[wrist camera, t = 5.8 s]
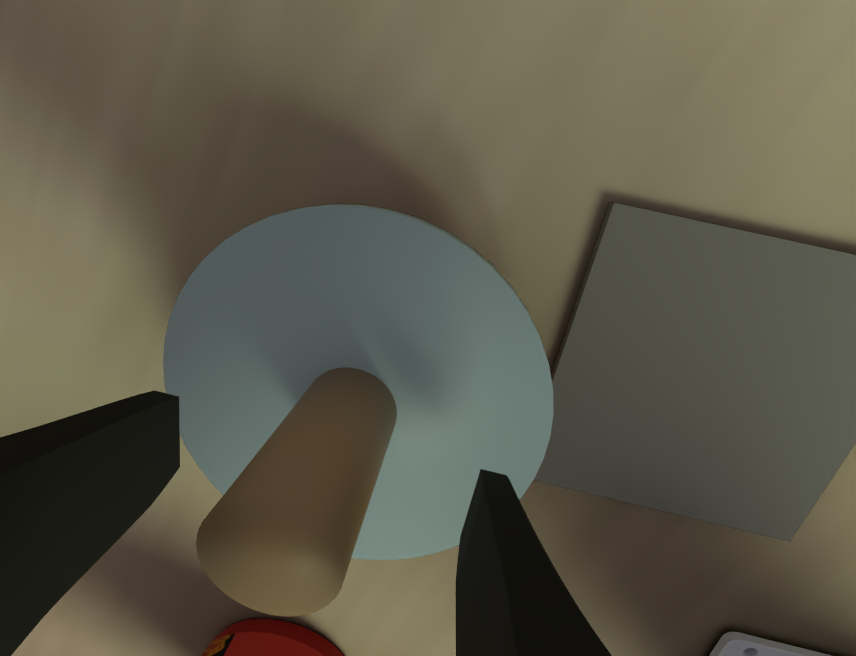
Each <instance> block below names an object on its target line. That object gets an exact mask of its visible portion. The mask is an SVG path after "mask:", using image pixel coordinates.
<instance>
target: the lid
mask: <svg viewBox="0 0 856 656" xmlns="http://www.w3.org/2000/svg"><path fill="white" fill-rule="evenodd" d="M163 366H164V380H165V388H166V393H167V394H171V395H175V396H179V433H180V435H181V437H182V440H183V442H184V444H185V446H186V448H187V449H188V451H189V452H190V454H191V456H192V457H193V459H194V460H195V462H196V463H197V465H198V467H199V468H200V469H201V470H202V472H203V473H204V474H205V475H206V477H207V478H208V479H209V480H210V482H211V483H212V484H213V485H214V486H215V487H216V488H217V489H218V490H219V491H220V492H221V493H222V494H223V497H222V498H221V499H220V500H219V502H218V503H217V504H216V505H215V507H214V508H213V509H212V510H211V512H210V513H209V514H208V516H207V517H206V518H205V519H204V521H203V522H202V524H201V526H200V528H199V531H198V534H197V541H196V544H197V553H198V557H199V560H200V563H201V565H202V567H203V569H204V571H205V572H206V574H207V575H208V577H209V578H210V579H211V581H212V582H213V583H214V584H215V585H216V586H217V587H218V588H219V589H220V590H221V591H222V592H223V593H225V594H226V595H227V596H229V597H230V598H232V599H233V600H235V601H236V602H238V603H240V604H242V605H244V606H246V607H248V608H250V609H253V610H255V611H258V612H262V613H265V614H270V615H276V616H301V615H306V614H310V613H313V612H316V611H318V610H320V609H322V608H324V607H325V606H327V605H328V604H329V603H330V602H332V601H333V600H334V599H335V597H336V596H337V595H338V593H339V591H340V589H341V587H342V584H343V581H344V578H345V575H346V572H347V569H348V566H349V563H350V560H351V558H356V559H365V560H397V559H408V558H415V557H420V556H425V555H429V554H434V553H437V552H440V551H443V550H446V549H449V548H452V547H455V546H457V545H459V544H460V536H461V532H462V529H463V526H464V522H465V519H466V516H467V512H468V509H469V506H470V502H471V499H472V496H473V493H474V489H475V486H476V483H477V479H478V476H479V473H480V469H483V470H487V471H491V472H496V473H500V474H504V475H507V476H508V478H509V479H510V481H511V483H512V486H513V488H514V490H515V492H516V494H517V496H518V499H519V500H520V499H521V497H522V496H523V495H524V493H525V492H526V490H527V489H528V487H529V486H530V484H531V483H532V481H533V480H534V478H535V476H536V474H537V472H538V470H539V468H540V465H541V463H542V461H543V459H544V456H545V453H546V449H547V446H548V443H549V439H550V435H551V428H552V421H553V414H554V412H553V385H552V379H551V374H550V368H549V363H548V360H547V357H546V354H545V351H544V348H543V344H542V341H541V338H540V336H539V333H538V331H537V329H536V327H535V325H534V323H533V321H532V319H531V317H530V315H529V312H528V310H527V308H526V307H525V305H524V304H523V302H522V301H521V299H520V298H519V296H518V295H517V294H516V292H515V291H514V289H513V288H512V286H511V285H510V284H509V283H508V281H507V280H506V279H505V278H504V277H503V276H502V275H501V274H500V273H499V272H498V270H497V269H496V268H495V267H494V266H493V265H492V264H491V263H490V262H489V261H487V260H486V259H485V258H484V257H483V256H481V255H480V254H479V253H478V252H477V251H475V250H474V249H473V248H472V247H471V246H469V245H468V244H466V243H465V242H463V241H462V240H460V239H458V238H457V237H455V236H454V235H452V234H451V233H449V232H447V231H446V230H444V229H442V228H439V227H437V226H435V225H433V224H431V223H429V222H426V221H424V220H422V219H420V218H417V217H414V216H411V215H407V214H404V213H401V212H398V211H395V210H391V209H385V208H379V207H374V206H368V205H355V204H330V205H321V206H312V207H305V208H299V209H295V210H291V211H288V212H284V213H280V214H276V215H272V216H270V217H267V218H265V219H263V220H260V221H258V222H256V223H253V224H251V225H249V226H246V227H245V228H243V229H242V230H240V231H238V232H237V233H235V234H234V235H232V236H230V237H229V238H227V239H226V240H224V241H223V242H222V243H221V244H220V245H218V246H217V247H216V248H215V249H214V250H213V251H212V252H210V253H209V254H208V255H207V256H206V257H205V258H204V259H203V260H202V262H201V263H200V264H199V265H198V267H197V268H196V269H195V270H194V271H193V273H192V274H191V275H190V276H189V278H188V280H187V282H186V283H185V285H184V287H183V288H182V290H181V292H180V294H179V295H178V297H177V300H176V303H175V305H174V308H173V310H172V313H171V315H170V318H169V323H168V327H167V332H166V337H165V344H164V358H163Z"/></svg>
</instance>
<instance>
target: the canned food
mask: <svg viewBox="0 0 856 656" xmlns="http://www.w3.org/2000/svg"><path fill="white" fill-rule="evenodd" d="M201 656H343V654H342V653H341V652H340V651H339V650H338V649H337V648H336V647H335V646H334V645H333V644H332V643H331V642H329V641H328V640H327V639H325V638H324V637H322V636H321V635H319V634H318V633H316V632H314V631H312V630H310V629H308V628H306V627H303V626H300V625H297V624H295V623H291V622H287V621H283V620H278V619H267V618H262V619H249V620H245V621H241V622H237V623H235V624H233V625H231V626H229V627H227V628H226V629H225V630H223V631H222V632H221V633H220V634H219V635H218V636H217V637H216V638H215V639H214V640H213V641H212V642H211V643H210V644H209V645H208V646H207V648H206V649H205V651H204V652H203V654H202V655H201Z"/></svg>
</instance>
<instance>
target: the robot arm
mask: <svg viewBox="0 0 856 656" xmlns="http://www.w3.org/2000/svg"><path fill="white" fill-rule="evenodd" d="M179 467H180V434H179V396H175V395H171V394H166V393H162V392H158V391H151V392H147V393H143V394H139V395H136V396H132V397H129V398H126V399H123V400H119V401H116V402H113V403H110V404H107V405H104V406H100V407H97V408H94V409H91V410H88V411H85V412H82V413H79V414H76V415H72V416H69V417H66V418H63V419H60V420H57V421H54V422H51V423H48V424H44V425H41V426H38V427H35V428H31V429H28V430H24V431H21V432H18V433H14V434H11V435H7V436H4V437H1V438H0V656H11V655H12V654H13V653H14V651H15V650H16V649H17V648H18V647H19V645H20V644H21V643H22V642H23V641H24V639H25V638H26V637H27V636H28V635H29V633H30V632H31V631H32V630H33V629H34V627H35V626H36V625H37V624H38V623H39V621H40V620H41V619H42V618H43V617H44V616H45V615H46V614H47V613H48V612H49V610H50V609H51V608H52V607H53V606H54V605H55V604H56V603H57V602H58V601H59V600H60V598H61V597H62V596H63V595H64V594H65V593H66V592H67V591H68V590H69V589H70V588H71V587H72V586H73V585H74V584H75V583H76V582H77V581H78V580H79V579H80V578H81V577H82V576H83V575H84V574H85V573H86V572H87V571H88V570H89V569H90V568H91V567H92V566H93V565H94V564H95V563H96V562H97V560H98V559H99V558H100V557H101V556H102V555H103V554H104V553H105V552H106V551H107V550H108V549H109V548H110V547H111V546H112V545H113V544H114V543H115V542H116V541H117V540H118V539H119V538H120V537H121V536H122V535H123V534H124V533H125V532H126V531H127V530H128V529H129V528H130V527H131V526H132V525H133V523H134V522H135V521H136V520H137V519H138V518H139V517H140V516H141V515H142V514H143V513H144V512H145V511H146V510H147V509H148V508H149V507H150V506H151V504H152V503H153V502H154V501H155V499H156V498H157V497H158V495H159V494H160V493H161V492H162V490H163V489H164V488H165V486H166V485H167V484H168V482H169V481H170V480H171V478H172V477H173V476H174V474H175V473H176V472H177V470H178V469H179ZM456 656H611V654H610V653H609V651H608V650H607V649H606V647H605V646H604V644H603V643H602V642H601V640H600V639H599V637H598V636H597V634H596V633H595V632H594V630H593V629H592V627H591V626H590V624H589V623H588V621H587V620H586V618H585V617H584V615H583V614H582V612H581V611H580V609H579V607H578V606H577V604H576V603H575V601H574V600H573V598H572V596H571V595H570V593H569V591H568V590H567V588H566V586H565V585H564V583H563V582H562V580H561V578H560V576H559V575H558V573H557V571H556V570H555V568H554V566H553V564H552V563H551V561H550V559H549V557H548V555H547V553H546V552H545V550H544V548H543V546H542V544H541V542H540V541H539V539H538V537H537V535H536V533H535V531H534V529H533V527H532V525H531V523H530V521H529V519H528V517H527V515H526V513H525V511H524V509H523V507H522V505H521V503H520V501H519V499H518V496H517V494H516V492H515V490H514V488H513V486H512V483H511V481H510V479H509V478H508V476H507V475H504V474H500V473H496V472H491V471H487V470H483V469H480V473H479V476H478V479H477V483H476V486H475V489H474V493H473V496H472V499H471V502H470V506H469V509H468V512H467V516H466V519H465V522H464V526H463V529H462V532H461V536H460V544H459V554H458V564H457V574H456ZM709 656H832V655H828V654H824V653H820V652H816V651H812V650H808V649H804V648H800V647H796V646H792V645H788V644H784V643H779V642H775V641H771V640H767V639H763V638H759V637H755V636H751V635H747V634H743V633H739V632H728V633H726V634H724V635H723V636H722V637H721V638H720V640H719V641H718V643H717V644H716V646H715V647H714V649H713V650H712V652H711V653H710V655H709Z"/></svg>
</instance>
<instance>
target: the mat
mask: <svg viewBox="0 0 856 656" xmlns="http://www.w3.org/2000/svg"><path fill="white" fill-rule="evenodd" d="M551 379H552V385H553V412H554V414H553V421H552V428H551V435H550V439H549V443H548V446H547V449H546V453H545V456H544V459H543V461H542V463H541V465H540V468H539V470H538V472H537V474H536V476H535V478H534V480H535V481H539V482H543V483H547V484H551V485H555V486H560V487H564V488H568V489H572V490H576V491H580V492H585V493H589V494H593V495H597V496H601V497H606V498H610V499H614V500H618V501H622V502H626V503H631V504H635V505H639V506H643V507H647V508H651V509H656V510H660V511H664V512H668V513H672V514H676V515H681V516H685V517H689V518H693V519H697V520H701V521H706V522H710V523H714V524H718V525H722V526H726V527H731V528H735V529H739V530H743V531H747V532H751V533H756V534H760V535H764V536H768V537H772V538H776V539H781V540H785V541H789V542H790V540H791V539H792V537H793V536H794V534H795V533H796V531H797V530H798V528H799V527H800V525H801V524H802V522H803V521H804V520H805V518H806V517H807V515H808V514H809V512H810V511H811V509H812V508H813V506H814V505H815V503H816V502H817V500H818V499H819V497H820V496H821V494H822V493H823V491H824V490H825V488H826V487H827V485H828V484H829V482H830V481H831V479H832V478H833V476H834V475H835V473H836V472H837V470H838V469H839V467H840V466H841V464H842V463H843V461H844V460H845V458H846V457H847V455H848V454H849V452H850V451H851V449H852V448H853V446H854V445H855V443H856V255H854V254H849V253H845V252H840V251H835V250H831V249H826V248H822V247H817V246H812V245H808V244H803V243H798V242H794V241H789V240H785V239H780V238H775V237H771V236H766V235H762V234H757V233H752V232H748V231H743V230H738V229H734V228H729V227H725V226H720V225H715V224H711V223H706V222H701V221H697V220H692V219H688V218H683V217H678V216H674V215H669V214H665V213H660V212H655V211H651V210H646V209H641V208H637V207H632V206H628V205H623V204H618V203H614V202H610V204H609V207H608V210H607V213H606V216H605V218H604V221H603V224H602V227H601V230H600V233H599V236H598V239H597V242H596V245H595V248H594V251H593V254H592V257H591V259H590V262H589V265H588V268H587V271H586V274H585V277H584V280H583V283H582V286H581V289H580V292H579V295H578V298H577V300H576V303H575V306H574V309H573V312H572V315H571V318H570V321H569V324H568V327H567V330H566V333H565V336H564V339H563V342H562V344H561V347H560V350H559V353H558V356H557V359H556V362H555V365H554V368H553V371H552V374H551Z"/></svg>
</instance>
